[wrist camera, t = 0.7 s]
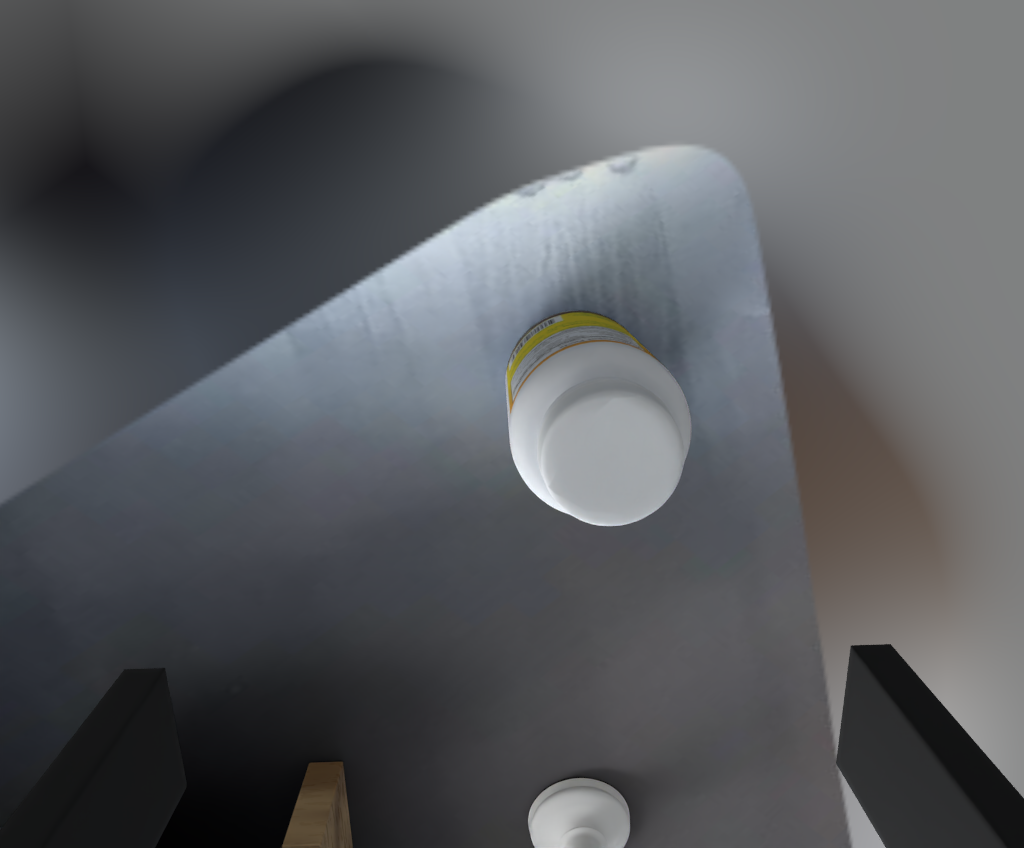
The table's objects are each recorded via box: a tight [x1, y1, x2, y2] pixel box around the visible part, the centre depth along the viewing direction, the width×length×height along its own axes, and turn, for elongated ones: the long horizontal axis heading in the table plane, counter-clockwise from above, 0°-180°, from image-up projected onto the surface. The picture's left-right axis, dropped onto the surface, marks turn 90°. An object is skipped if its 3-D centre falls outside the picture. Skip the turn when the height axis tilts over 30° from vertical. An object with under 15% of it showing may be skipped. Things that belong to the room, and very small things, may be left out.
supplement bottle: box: [506, 310, 691, 526], centre depth 25 cm, size 6×6×10 cm
